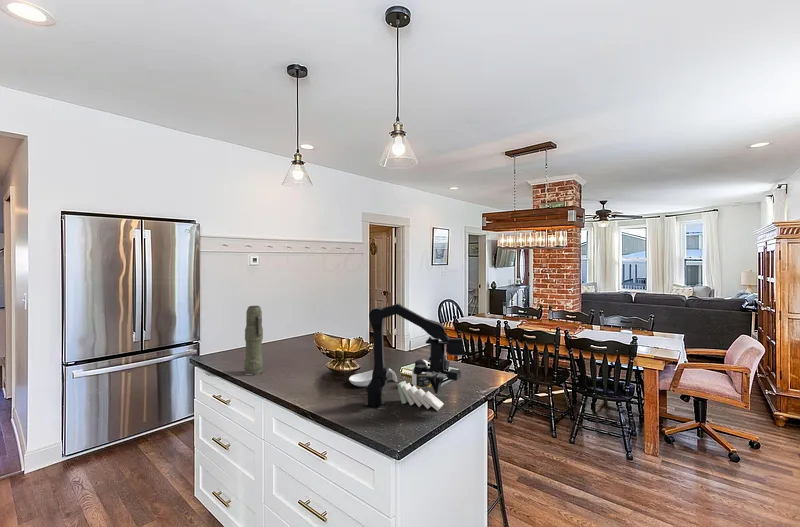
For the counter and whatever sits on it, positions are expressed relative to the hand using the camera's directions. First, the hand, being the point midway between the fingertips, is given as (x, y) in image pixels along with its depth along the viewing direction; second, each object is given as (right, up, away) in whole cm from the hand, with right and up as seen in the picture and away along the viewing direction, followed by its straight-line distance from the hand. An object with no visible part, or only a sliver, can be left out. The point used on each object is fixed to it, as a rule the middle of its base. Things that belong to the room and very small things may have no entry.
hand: (436, 393), depth 154 cm
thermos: (-91, -5, +47) cm, 103 cm away
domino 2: (-5, -5, +3) cm, 8 cm away
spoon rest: (-28, -6, +32) cm, 43 cm away
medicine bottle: (-5, -6, +29) cm, 30 cm away
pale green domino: (-12, -6, +6) cm, 15 cm away
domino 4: (+2, -5, -1) cm, 6 cm away
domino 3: (-2, -5, +1) cm, 6 cm away
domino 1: (-9, -5, +5) cm, 11 cm away
